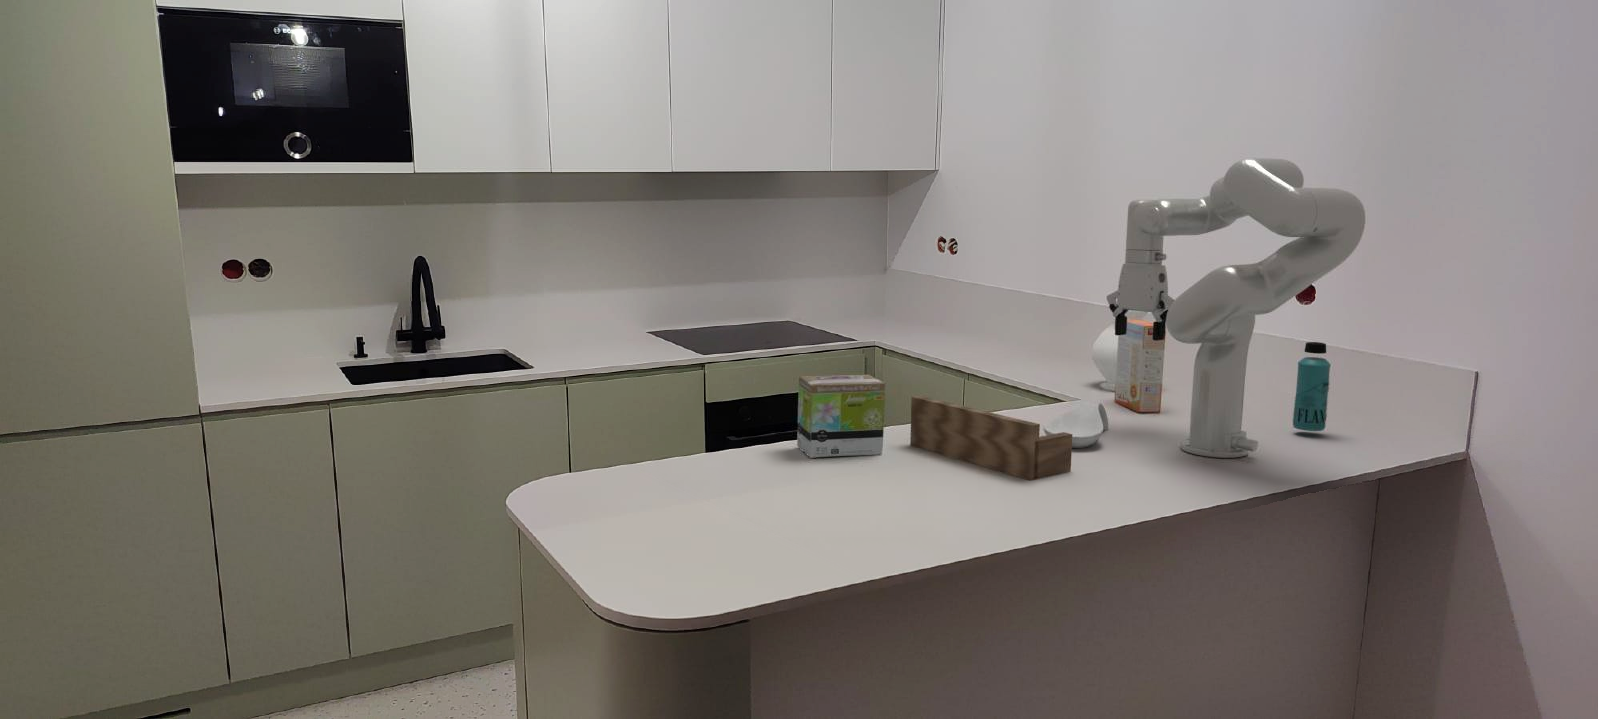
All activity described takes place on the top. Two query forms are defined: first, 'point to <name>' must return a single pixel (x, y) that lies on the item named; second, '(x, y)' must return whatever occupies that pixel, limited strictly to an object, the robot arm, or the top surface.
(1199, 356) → the robot arm
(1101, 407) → the spoon rest
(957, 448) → the stand
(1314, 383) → the beverage bottle
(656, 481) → the top surface
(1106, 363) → the decorative vase
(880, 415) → the tea box
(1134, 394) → the cracker box
